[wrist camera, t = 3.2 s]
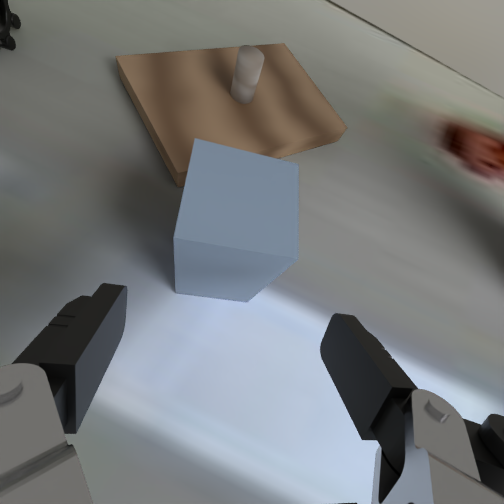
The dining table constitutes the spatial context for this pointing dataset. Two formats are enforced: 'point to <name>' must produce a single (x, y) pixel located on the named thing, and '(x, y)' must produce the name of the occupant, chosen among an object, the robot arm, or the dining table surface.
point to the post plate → (228, 102)
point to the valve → (7, 25)
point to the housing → (235, 222)
